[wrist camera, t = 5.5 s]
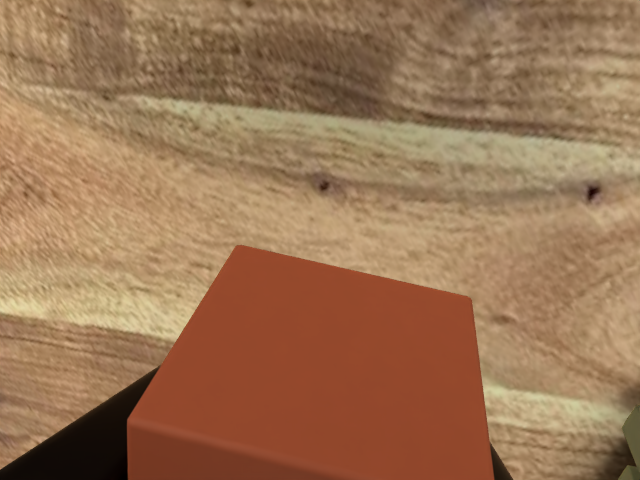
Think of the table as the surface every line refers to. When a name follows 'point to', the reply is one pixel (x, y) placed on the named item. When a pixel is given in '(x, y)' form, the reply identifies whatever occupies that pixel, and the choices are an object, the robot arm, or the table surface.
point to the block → (315, 381)
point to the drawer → (632, 444)
